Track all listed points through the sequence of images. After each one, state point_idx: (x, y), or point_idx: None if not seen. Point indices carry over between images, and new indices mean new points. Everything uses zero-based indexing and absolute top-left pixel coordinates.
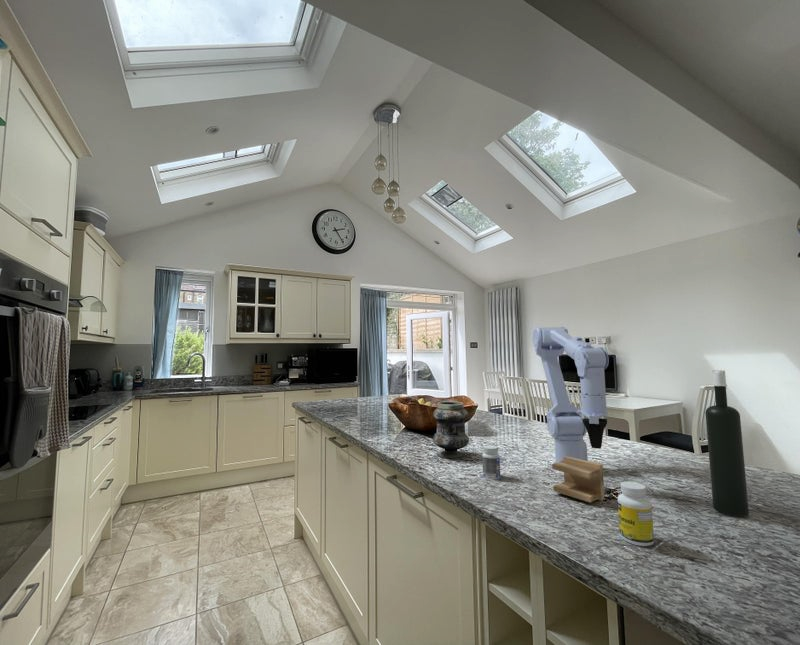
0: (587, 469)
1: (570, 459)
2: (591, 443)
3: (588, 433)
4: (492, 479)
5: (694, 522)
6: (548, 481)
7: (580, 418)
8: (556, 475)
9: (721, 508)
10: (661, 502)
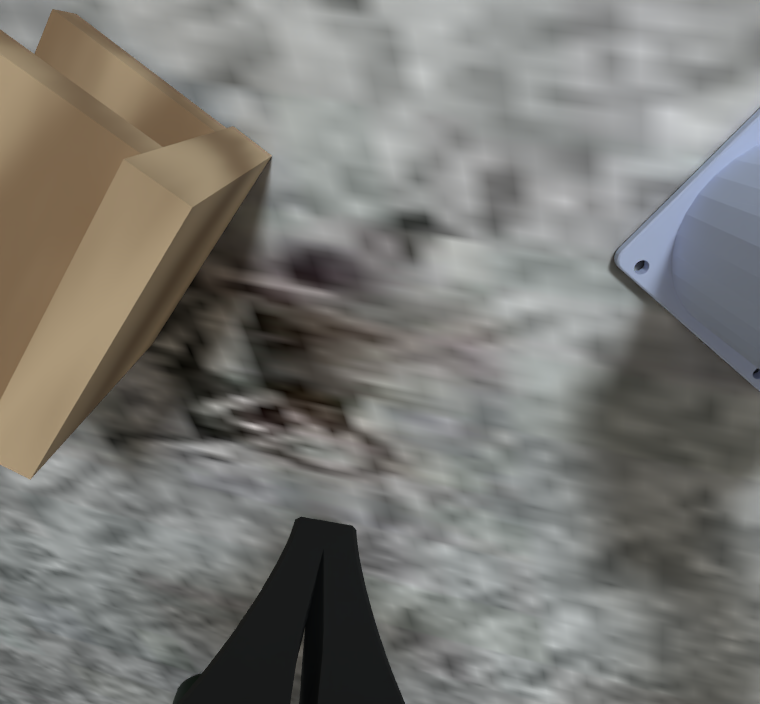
0: None
1: (87, 234)
2: (282, 554)
3: (215, 657)
4: None
5: (44, 586)
6: (403, 5)
7: None
8: (578, 103)
9: (185, 691)
10: (221, 556)
